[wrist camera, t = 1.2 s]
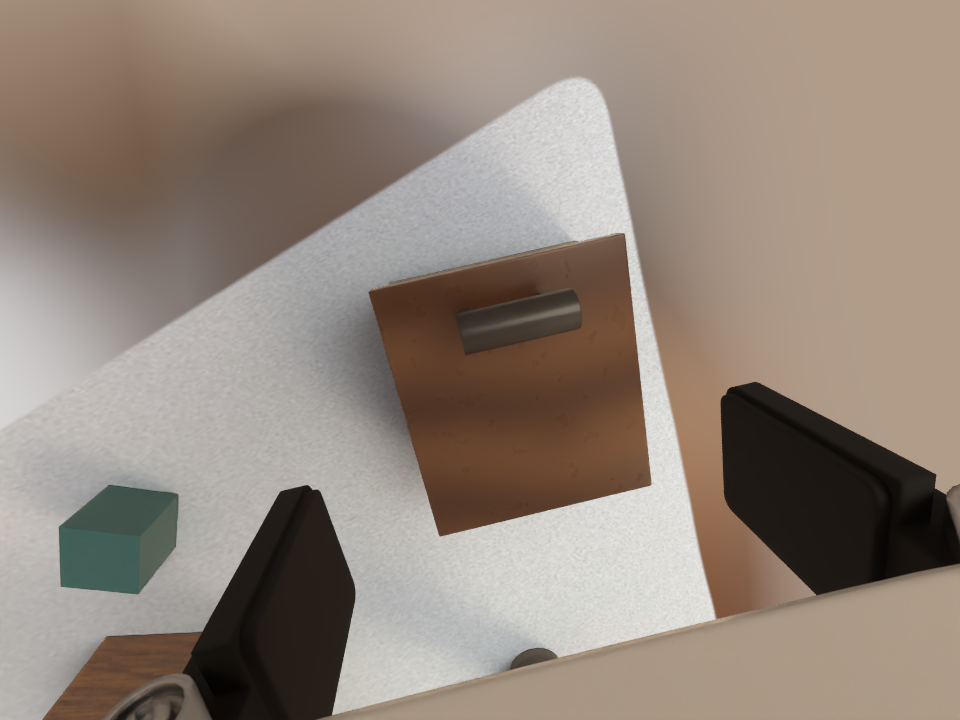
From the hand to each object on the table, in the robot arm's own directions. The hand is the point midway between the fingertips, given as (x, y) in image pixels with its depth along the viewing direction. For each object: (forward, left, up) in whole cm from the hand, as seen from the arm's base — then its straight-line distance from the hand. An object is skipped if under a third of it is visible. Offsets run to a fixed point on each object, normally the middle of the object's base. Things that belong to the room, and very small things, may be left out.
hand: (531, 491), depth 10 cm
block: (+20, -20, -22) cm, 35 cm away
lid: (+3, +3, -14) cm, 14 cm away
